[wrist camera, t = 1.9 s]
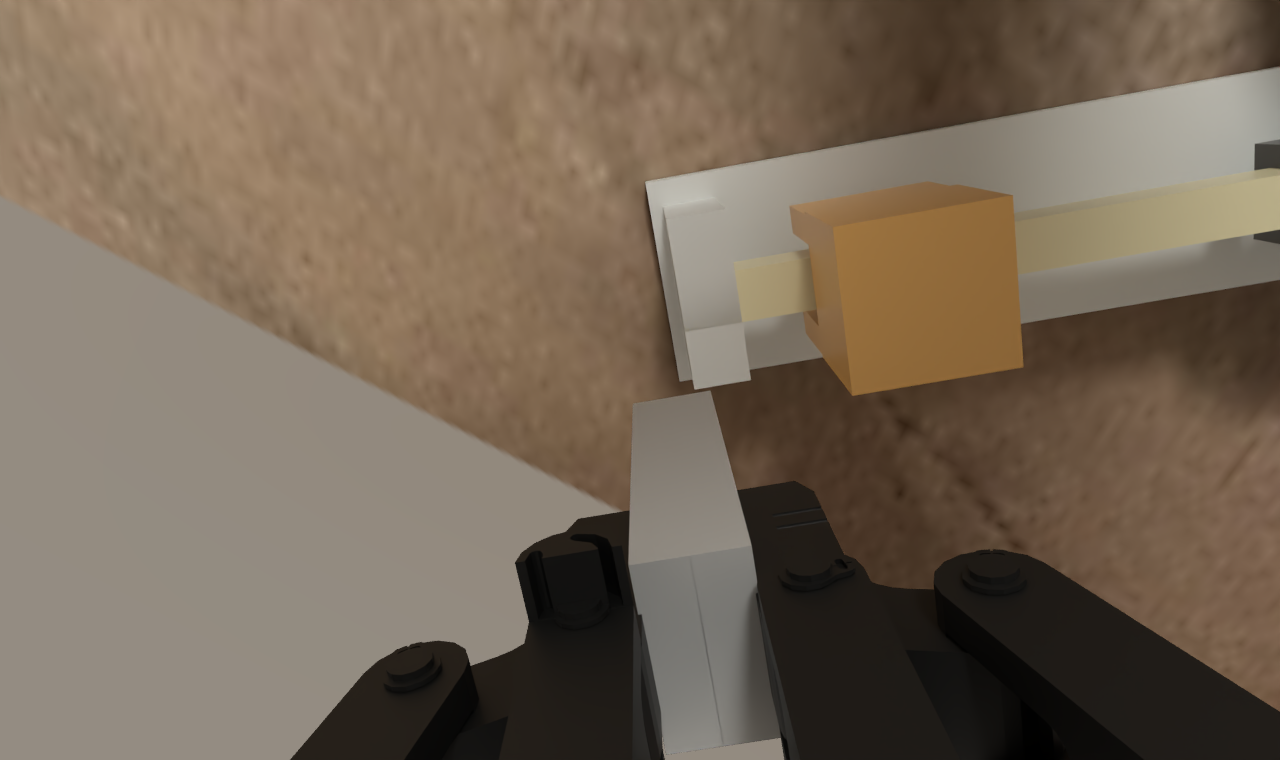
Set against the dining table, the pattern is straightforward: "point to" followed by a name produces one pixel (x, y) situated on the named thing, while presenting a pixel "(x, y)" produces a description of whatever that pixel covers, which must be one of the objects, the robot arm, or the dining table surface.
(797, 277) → the linear slide rail
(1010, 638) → the robot arm
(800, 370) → the dining table surface
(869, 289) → the orange slider block
